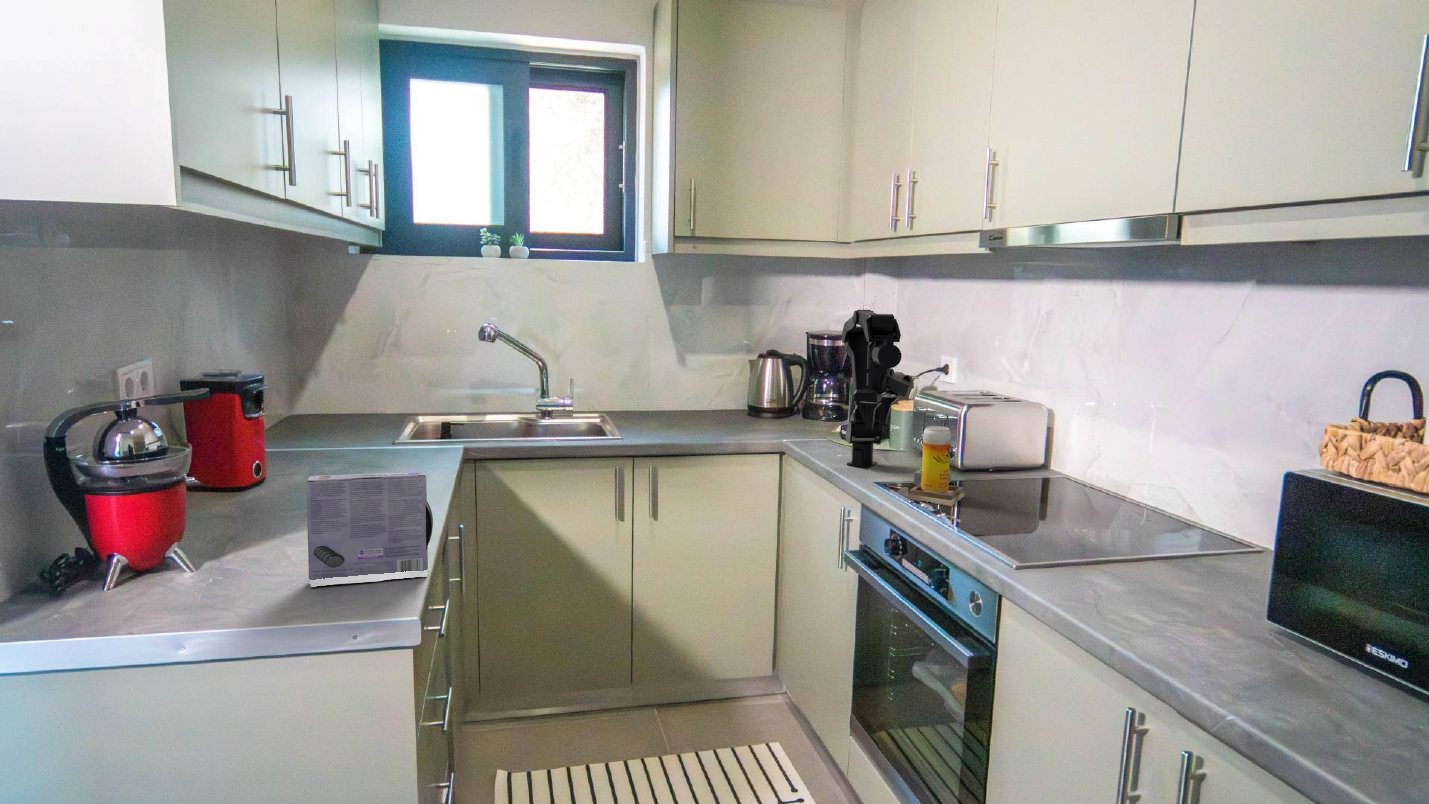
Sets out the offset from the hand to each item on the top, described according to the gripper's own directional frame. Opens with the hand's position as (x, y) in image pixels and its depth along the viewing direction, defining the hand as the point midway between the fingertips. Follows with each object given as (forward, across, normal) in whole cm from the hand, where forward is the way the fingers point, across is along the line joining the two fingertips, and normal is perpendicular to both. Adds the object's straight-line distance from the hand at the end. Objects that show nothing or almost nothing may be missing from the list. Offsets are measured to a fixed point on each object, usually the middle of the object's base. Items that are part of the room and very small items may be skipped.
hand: (876, 427), depth 216 cm
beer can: (+12, -11, -18) cm, 25 cm away
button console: (+13, +2, -14) cm, 19 cm away
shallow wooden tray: (+13, -11, -19) cm, 26 cm away
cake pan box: (+14, -115, +43) cm, 123 cm away
